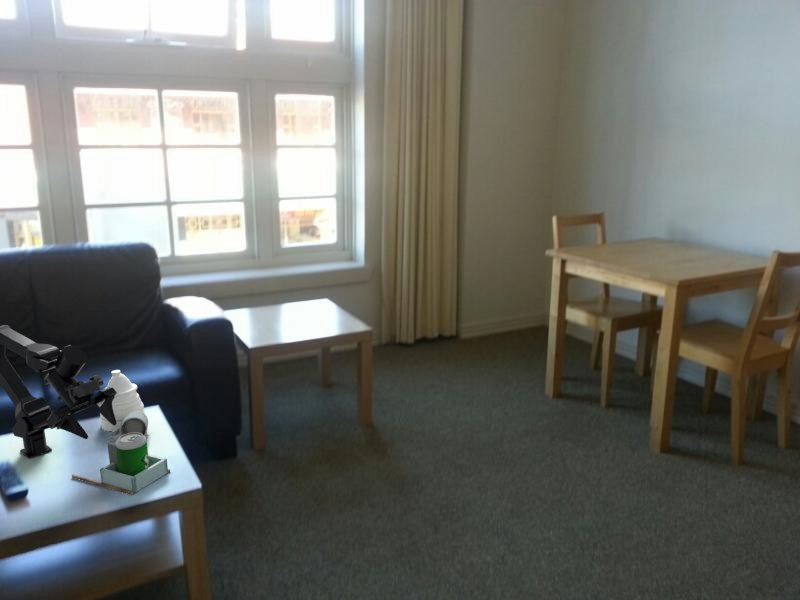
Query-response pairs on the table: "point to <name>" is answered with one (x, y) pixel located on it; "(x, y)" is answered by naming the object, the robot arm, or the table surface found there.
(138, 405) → the honey pot
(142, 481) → the pale green open tray
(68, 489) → the table surface
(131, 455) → the soda can
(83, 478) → the track
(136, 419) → the ceramic mug
